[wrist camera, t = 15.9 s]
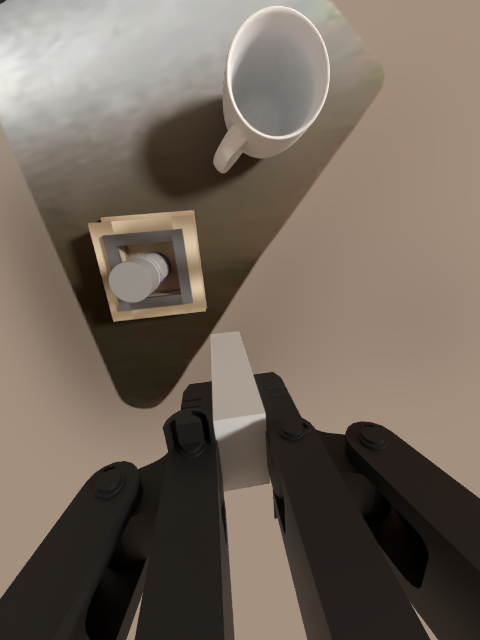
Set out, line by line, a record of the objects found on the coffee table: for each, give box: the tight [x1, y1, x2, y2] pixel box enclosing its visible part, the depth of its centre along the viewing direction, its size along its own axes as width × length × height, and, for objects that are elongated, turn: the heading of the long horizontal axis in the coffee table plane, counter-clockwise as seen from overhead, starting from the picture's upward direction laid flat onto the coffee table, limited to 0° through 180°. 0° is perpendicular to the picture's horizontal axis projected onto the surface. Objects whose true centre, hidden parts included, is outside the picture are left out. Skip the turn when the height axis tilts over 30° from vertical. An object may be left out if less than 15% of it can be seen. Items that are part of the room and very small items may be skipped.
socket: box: [88, 210, 207, 322], centre depth 40 cm, size 16×14×7 cm
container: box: [109, 252, 171, 303], centre depth 35 cm, size 5×5×15 cm
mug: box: [213, 6, 330, 173], centre depth 32 cm, size 15×11×13 cm
